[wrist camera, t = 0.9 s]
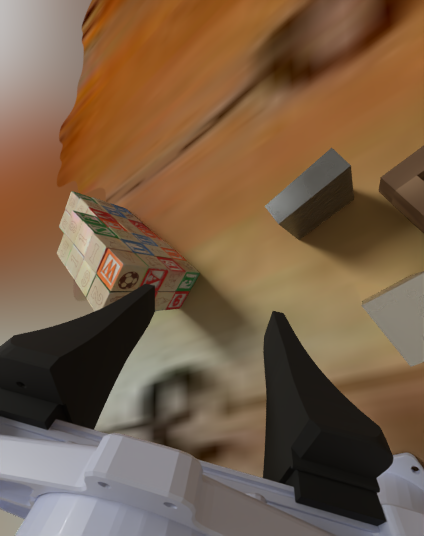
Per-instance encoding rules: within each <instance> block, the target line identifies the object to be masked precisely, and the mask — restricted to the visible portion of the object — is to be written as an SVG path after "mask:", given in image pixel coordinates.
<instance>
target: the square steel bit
mask: <svg viewBox="0 0 424 536" xmlns="http://www.w3.org/2000/svg"><path fill="white" fill-rule="evenodd" d="M362 307H363V308H364V309H365V310H366V312H367V313H368V314H369V315H370V317H371V318H372V319H373V320H374V322H375V323H376V324H377V325H378V327H379V328H380V329H381V330H382V332H383V333H384V334H385V335H386V337H387V338H388V339H389V340H390V342H391V343H392V344H393V345H394V346H395V348H396V349H397V350H398V351H399V353H400V354H401V355H402V356H403V358H404V359H405V360H406V361H407V363H408V364H409V365H410V366H414V365H417V364H419V363H422V362H424V271H423V272H420V273H416V274H413V275H410V276H408V277H406V278H404V279H402V280H400V281H398V282H396V283H395V284H393V285H391V286H389V287H387V288H385V289H383V290H381V291H380V292H378V293H376V294H374V295H372V296H370V297H368V298H367V299H365V300H363V301H362Z"/></svg>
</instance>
